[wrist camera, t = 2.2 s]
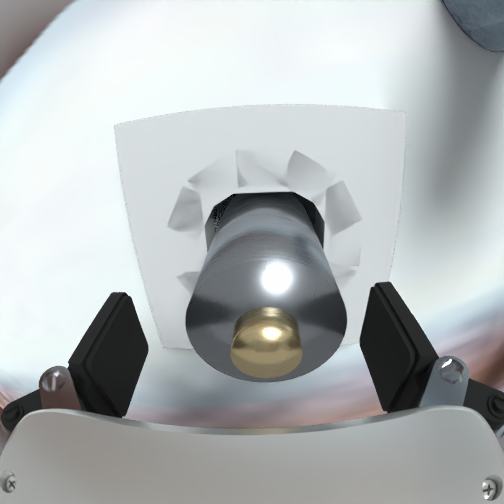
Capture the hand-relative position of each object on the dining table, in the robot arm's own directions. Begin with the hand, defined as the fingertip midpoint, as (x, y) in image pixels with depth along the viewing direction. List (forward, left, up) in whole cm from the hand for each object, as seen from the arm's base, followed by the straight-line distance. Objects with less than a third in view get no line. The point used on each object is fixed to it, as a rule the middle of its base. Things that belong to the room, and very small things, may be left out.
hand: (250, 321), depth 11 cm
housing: (-1, 0, -10) cm, 9 cm away
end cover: (-1, 0, -10) cm, 10 cm away
